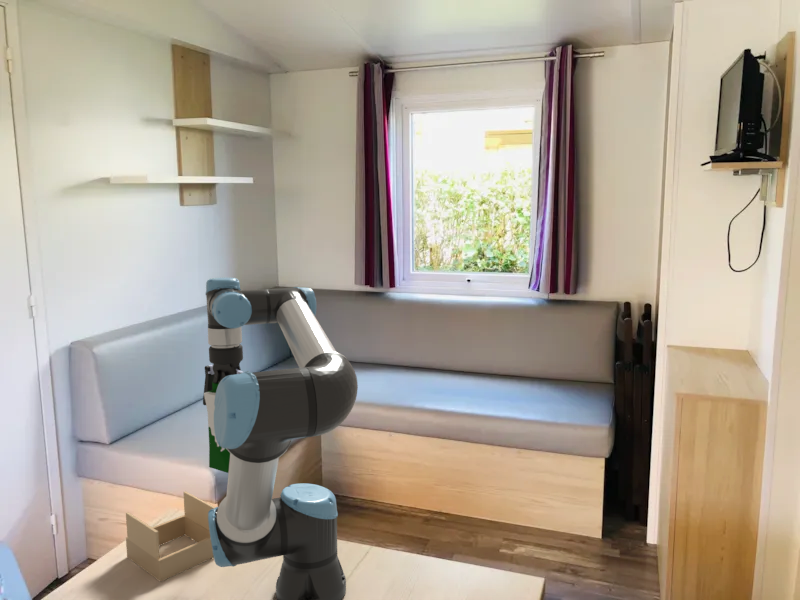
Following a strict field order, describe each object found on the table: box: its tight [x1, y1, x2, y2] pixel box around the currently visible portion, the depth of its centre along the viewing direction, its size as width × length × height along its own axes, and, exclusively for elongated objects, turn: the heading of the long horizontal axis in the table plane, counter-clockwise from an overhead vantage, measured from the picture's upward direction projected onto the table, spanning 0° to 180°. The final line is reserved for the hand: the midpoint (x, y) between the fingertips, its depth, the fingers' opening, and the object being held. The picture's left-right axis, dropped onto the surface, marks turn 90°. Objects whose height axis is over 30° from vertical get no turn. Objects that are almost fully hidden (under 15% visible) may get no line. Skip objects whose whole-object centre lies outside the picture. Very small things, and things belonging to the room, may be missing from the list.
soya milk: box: [203, 382, 230, 474], centre depth 152 cm, size 9×9×20 cm
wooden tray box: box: [125, 490, 217, 582], centre depth 155 cm, size 16×16×12 cm
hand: (229, 439), depth 152 cm, fingers closed on soya milk, 9 cm apart
